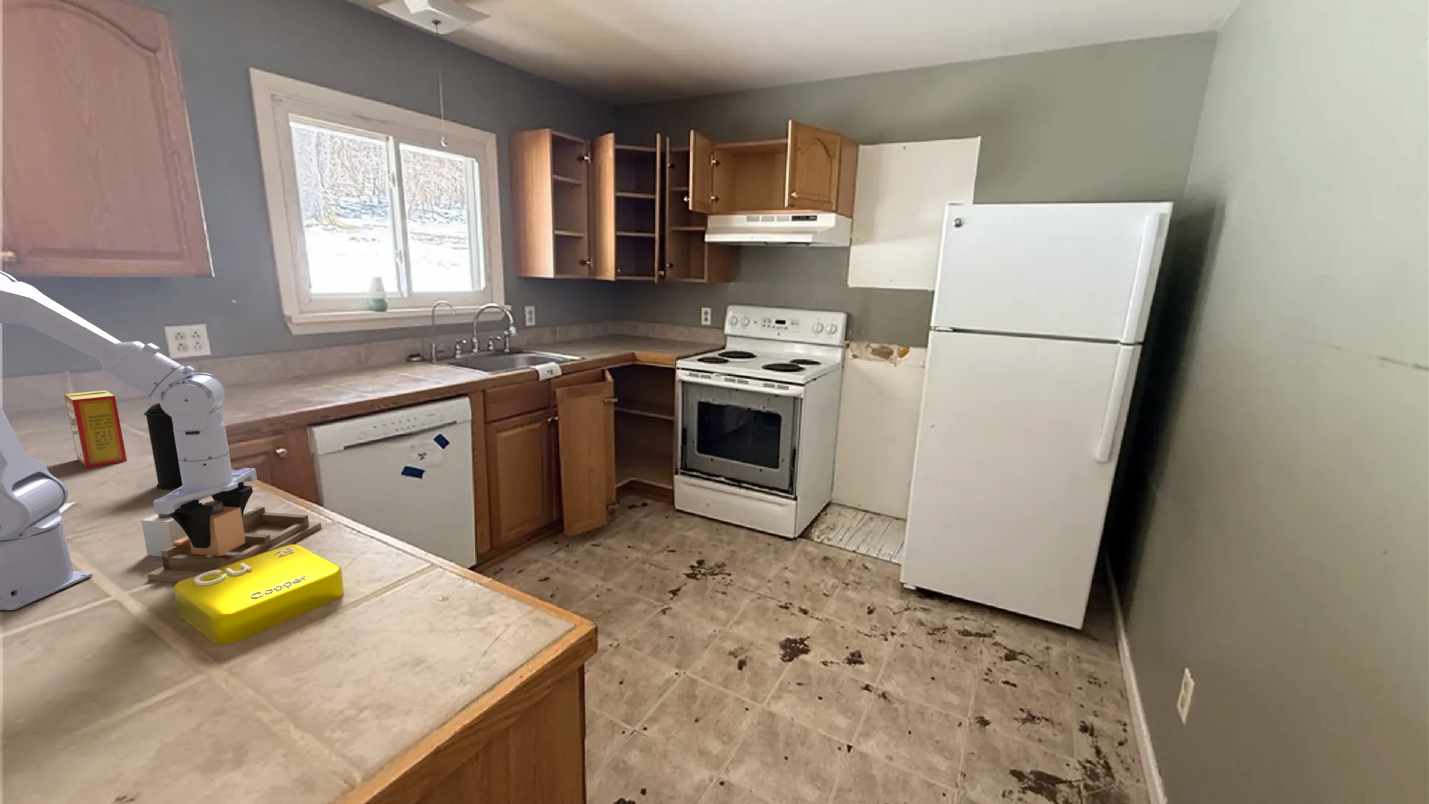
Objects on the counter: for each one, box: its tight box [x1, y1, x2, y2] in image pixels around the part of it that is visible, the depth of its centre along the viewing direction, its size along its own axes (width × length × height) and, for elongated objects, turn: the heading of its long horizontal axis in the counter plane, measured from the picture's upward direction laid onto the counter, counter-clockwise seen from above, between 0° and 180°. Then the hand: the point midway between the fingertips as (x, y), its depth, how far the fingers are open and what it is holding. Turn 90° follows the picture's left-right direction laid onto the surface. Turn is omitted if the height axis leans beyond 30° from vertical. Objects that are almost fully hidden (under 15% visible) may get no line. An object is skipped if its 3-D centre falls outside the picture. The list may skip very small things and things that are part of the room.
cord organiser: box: [146, 506, 322, 583], centre depth 93 cm, size 20×11×4 cm, turn 176°
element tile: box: [173, 544, 345, 645], centre depth 79 cm, size 15×15×5 cm
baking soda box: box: [63, 389, 128, 469], centre depth 131 cm, size 10×6×16 cm
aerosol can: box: [143, 402, 183, 491], centre depth 119 cm, size 8×8×20 cm
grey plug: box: [140, 513, 187, 557], centre depth 92 cm, size 4×4×7 cm
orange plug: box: [189, 500, 246, 556], centre depth 88 cm, size 4×4×7 cm
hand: (217, 539), depth 88 cm, fingers closed on orange plug, 4 cm apart
